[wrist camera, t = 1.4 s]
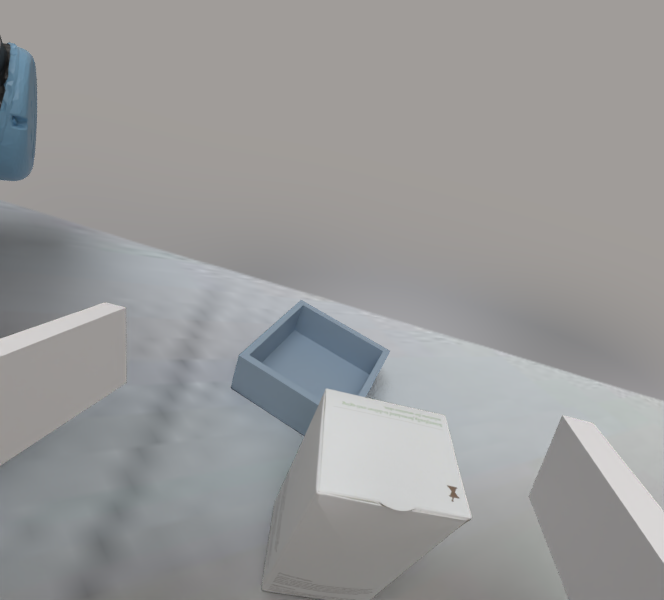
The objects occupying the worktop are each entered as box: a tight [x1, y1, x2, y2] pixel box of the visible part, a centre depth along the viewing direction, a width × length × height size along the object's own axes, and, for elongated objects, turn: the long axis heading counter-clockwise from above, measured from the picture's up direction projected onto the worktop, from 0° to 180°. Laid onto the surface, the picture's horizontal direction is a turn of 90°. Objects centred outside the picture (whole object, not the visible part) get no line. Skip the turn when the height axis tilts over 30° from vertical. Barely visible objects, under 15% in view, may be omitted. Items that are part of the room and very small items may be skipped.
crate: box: [231, 300, 390, 436], centre depth 40 cm, size 12×12×5 cm
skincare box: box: [261, 389, 472, 600], centre depth 24 cm, size 8×7×16 cm
